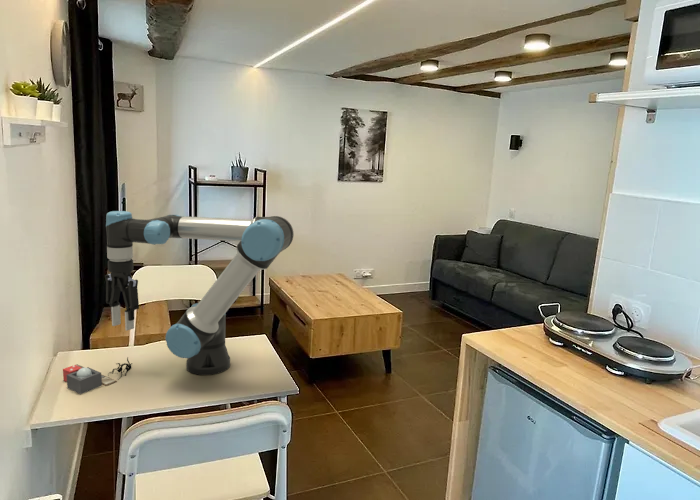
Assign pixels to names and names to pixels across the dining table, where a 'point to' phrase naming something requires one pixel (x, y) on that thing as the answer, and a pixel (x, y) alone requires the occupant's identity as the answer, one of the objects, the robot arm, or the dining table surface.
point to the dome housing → (84, 382)
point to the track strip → (104, 379)
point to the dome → (84, 372)
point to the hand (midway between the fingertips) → (123, 326)
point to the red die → (69, 371)
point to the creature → (128, 366)
